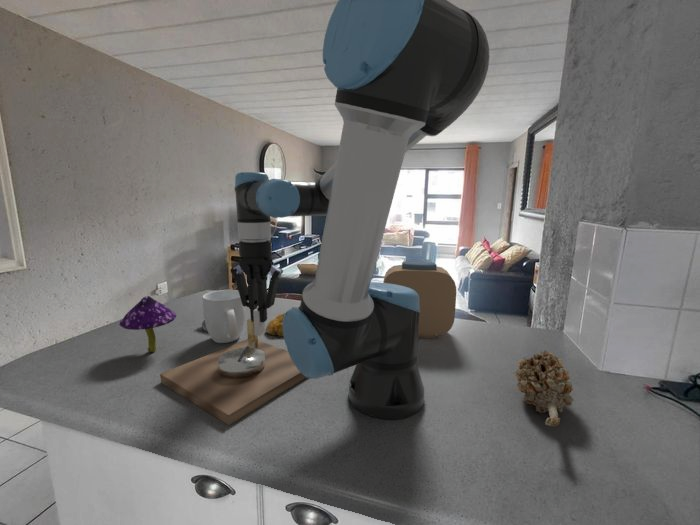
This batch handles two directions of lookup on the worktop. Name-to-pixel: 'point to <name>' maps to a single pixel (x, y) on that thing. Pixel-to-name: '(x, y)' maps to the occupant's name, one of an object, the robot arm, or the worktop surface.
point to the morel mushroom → (545, 384)
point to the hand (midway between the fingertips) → (259, 333)
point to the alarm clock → (428, 294)
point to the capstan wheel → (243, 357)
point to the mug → (223, 315)
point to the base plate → (233, 382)
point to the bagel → (276, 326)
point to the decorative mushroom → (148, 318)
